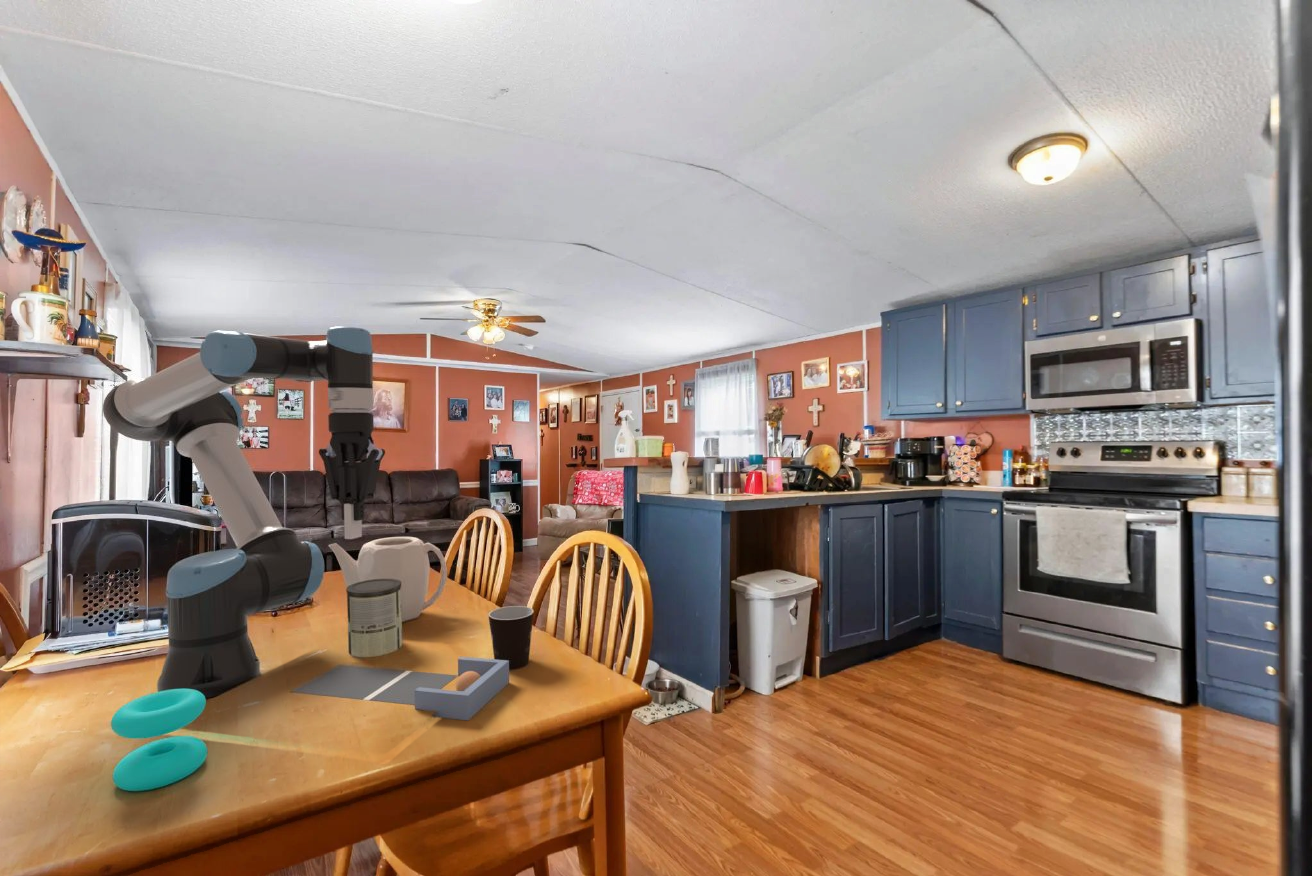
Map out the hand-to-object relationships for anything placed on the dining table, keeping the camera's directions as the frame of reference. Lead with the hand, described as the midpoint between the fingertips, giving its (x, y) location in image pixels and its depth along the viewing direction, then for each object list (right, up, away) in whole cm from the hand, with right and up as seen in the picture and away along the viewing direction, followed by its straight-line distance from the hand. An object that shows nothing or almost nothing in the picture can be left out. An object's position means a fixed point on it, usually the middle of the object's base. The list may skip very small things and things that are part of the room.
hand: (353, 537), depth 115 cm
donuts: (-10, -27, -32) cm, 43 cm away
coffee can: (-1, -26, +11) cm, 28 cm away
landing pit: (+23, -26, -9) cm, 36 cm away
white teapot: (-8, -25, +33) cm, 43 cm away
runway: (+7, -26, -6) cm, 27 cm away
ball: (+23, -22, -9) cm, 33 cm away
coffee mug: (+29, -26, +7) cm, 39 cm away
